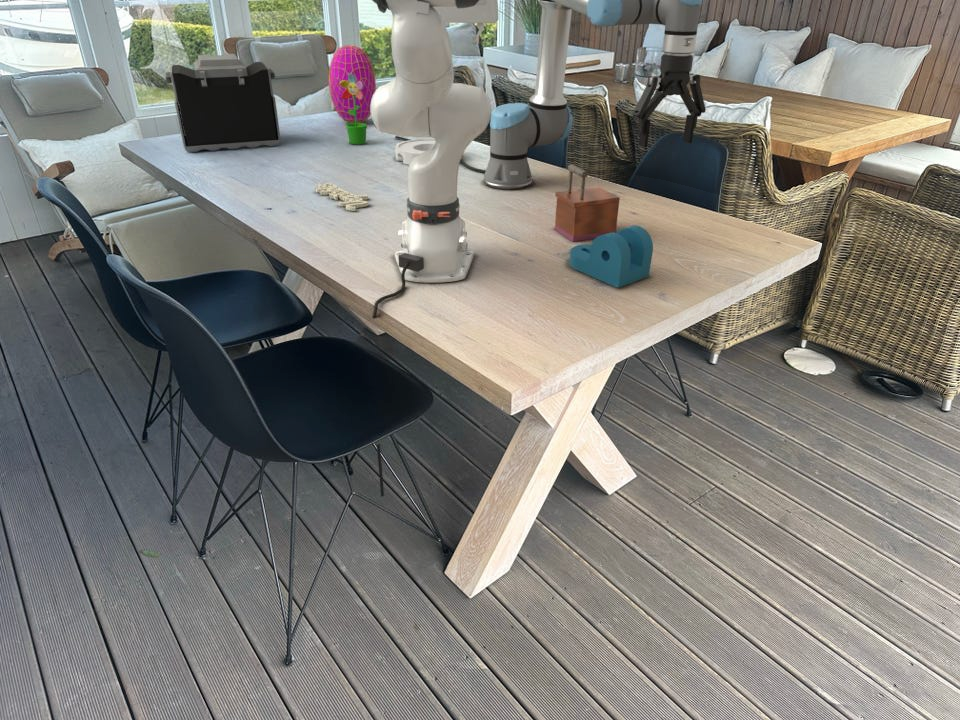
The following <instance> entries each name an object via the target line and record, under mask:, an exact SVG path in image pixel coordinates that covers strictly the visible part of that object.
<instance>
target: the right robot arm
mask: <svg viewBox="0 0 960 720" xmlns="http://www.w3.org/2000/svg"><path fill="white" fill-rule="evenodd" d="M537 2H538V3H539V4H540V6H541V16H540V17H541V18H540V27H539V38H538V39H539V41H538V51H537V62H536V63H537V64H536V75H535V77H536V78H535V86H534V87H535V89H534V93H533V95H532V96H531V97H529V99H528V104H527V103H523V102H513V103H511V102H510V103H505V104H501V105H498V106H496V107H494V109H493V110H491V118H490V121H489V127H490V129H489V131H490V135H489V136H490V141H489V142H490V143H489V160H488V163H487V166H486V169H481V168H477V167H474V166H471V165H469V164H468V163H466V161H464V160H463V159H462V158H461V160H460V163H461V164H462V165H463V166H464V167H465V168H467V169H469V170H471V171H474V172H478V173H481V174H484V176H483V184H484V185H485V186H487V187H489V188H493V189H497V190H510V191H511V190H521V189H525V188H526V189H527V188H529V187H530V186H532V184H533V175H532V172H531V168H530V164H529V160H528V153H529V152H528V151H529V150H528V149H529V148H533V147H540V146H552V145H555V144H558V143H561V142H563V141H565V140H566V139H567V138H568V137H569V136H570V134H571V131H572V128H573V123H574V117H573V114H572V110H571V108H570V107H569V106H568V105H567V104H568V100H567V98H565V96H564V88H565V87H564V86H565V78H566V70H567V69H566V68H567V60H568V51H569V50H568V49H569V40H570V31H571V21H572V14H573V13H572V12H573V11H576V12H578V13H580V14H582V15H585V16H587V18H588V20H590V23H591V24H592V25H594V26H598V27H606V28H608V27H613V26H632V25H633V26H635V25H661V26H664V33H663V40H662V48H661V51H662V53H663V54H662V55H661V56H660V65H659V71H660V74H659V76H658V77H657V76H653V75H649V76H648V78H647V82H646V86H645V88H644V90H643V92H642V94H641V96H640V98H639V100H638V102H637V103H636V106H635V107H634V110H633V111H632V117H635V118H637V119H638V127H637V132H638V134H639V138H638V146H640V147H641V148H648V143H649V135H650V128H651V120H650V119H649V118H650V117H651V116H652V114H653V113H654V112H655V110H656V109H657V108H658V106H659V105H660V103H661V102H662V101H663V100H664V99H665V98H667V96H671V97H672V96H674V95H675V96H680V99H681V100H682V102H683V105H685V107H686V110H687V111H688V113H689V114H686V117H685V123H684V131H683V137H682V142H684V143H687V144H692V143H693V137H694V131H695V129H696V128H697V123H698V118H700V117H701V116H702V114H704V113H706V110H707V109H706V104H705V101H704V96H703V92H702V88H701V74H697V73H690V72H692V70H693V62H694V55H692V54H694V53H695V49H696V42H697V36H698V27H699V21H700V16H701V10H702V6H703V5H702V4H703V0H537ZM688 85H689V87H690V90H689V88H688ZM690 91H691V94H690ZM394 138H395V139H396V140H401V141H407V140H412V139H410V138H408V137H401V136H396V135H394Z"/></svg>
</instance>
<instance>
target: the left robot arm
mask: <svg viewBox="0 0 960 720" xmlns="http://www.w3.org/2000/svg"><path fill="white" fill-rule="evenodd" d="M371 1H372V2H373V3H374V4H376V5H377V9H378V11H379V12H381V13H383V14H385V13H386V12H387V10H388V11H390V12H391V15H392V27H391V34H390V35H391V37H390V39H391V40H390V41H391V43H390V45H391V55H392V60H393V65H394V70H395V77H394V78H393V79H392V80H391V81H389V82H387V83H385V84H383V85H379V87H377V88H376V91H375V93H374V95H373V97H372V100H371V105H370V112H371V114H370V117H371V119H372V122H373V125H374V126H375V128H377V129H378V131H379V132H380V133H383V134H386V135H392V136H399V137H403V138H431V139H435V141H436V142H435V145H434V146H433V147H432V148H431V149H429V150H427V151H425V152H423V153H421V154H419V155H418V156H416V157H415V158H414V159H412V161H411V162H410V164H409V165H408V168H407V184H408V186H407V187H408V198H407V199H406V211H407V213H406V214H407V217H406V218H405V219H404V220H403V221H402V223H401V230H399V231H398V235H402V242H401V244H400V247H401V249H400V250H397V251H395V252H394V259H395V262H396V264H397V267H398V269H399V272H400V274H401V275H400V276H401V277H400V278H401V287H400V289H398V290H397V291H395V292H393V293H389V294H386V295H384V296H381V297H380V298H378V299H377V300H376V301H375V302H374V305H373V312H372V316H371V318H372V319H373V320H375V319H376V318H377V313H378V309H379V304H381V303H382V302H383V301H385V300H387V299H391V298H394V297H397V296H399V295H400V294H402V293H403V292H404V291H405V288H406V281H408V282H414V283H431V284H433V283H435V284H437V283H451V282H457V281H461V280H464V279H466V277H467V274H468V273H469V269H470V267H471V265H472V262H473V260H474V257H475V251H473V250H471V249H468V245H469V243H468V242H467V241H466V238H467V236H468V232H467V231H466V221H465V220H464V219H463V218H461V216H460V208H461V207H460V206H461V205H460V198H459V197H458V178H459V177H458V176H459V167H460V163H461V162H460V160H461V159H462V157H463V155H464V153H465V151H466V149H467V148H468V146H469V145H470V144H471V143H473V141H474V140H475V139H476V138H478V137H479V136H480V135H482V134H483V132H485V130H486V129H487V128H488V125H490V122H491V113H492V105H491V101H490V98H489V96H488V94H487V93H486V92H485V90H484V89H483V88H482V87H479V86H475V85H471V84H466V83H460V82H457V83H456V82H454V79H455V74H454V60H453V50H452V43H451V38H450V36H449V32H448V29H447V26H446V24H477V29H478V31H477V33H476V34H475V35H472V45H480V36H481V34H482V32H483V30H484V28H485V27H484V26H485V24H496V23H497V22H499V1H498V0H371ZM381 452H382V451H381V443H378V444H376V453H377V462H378V463H377V465H378V475H379V487H380V497H384V496H385V490H384V476H383V465H382V464H383V463H382V453H381Z"/></svg>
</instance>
